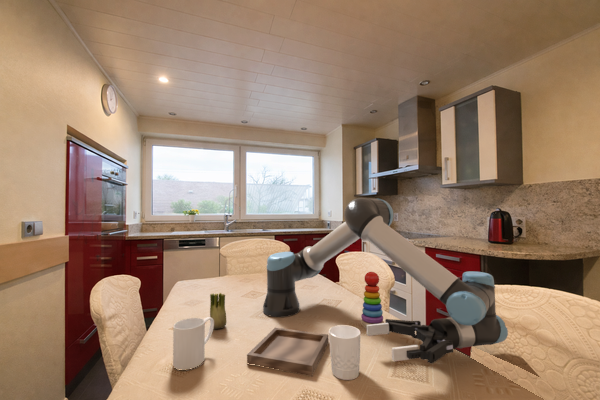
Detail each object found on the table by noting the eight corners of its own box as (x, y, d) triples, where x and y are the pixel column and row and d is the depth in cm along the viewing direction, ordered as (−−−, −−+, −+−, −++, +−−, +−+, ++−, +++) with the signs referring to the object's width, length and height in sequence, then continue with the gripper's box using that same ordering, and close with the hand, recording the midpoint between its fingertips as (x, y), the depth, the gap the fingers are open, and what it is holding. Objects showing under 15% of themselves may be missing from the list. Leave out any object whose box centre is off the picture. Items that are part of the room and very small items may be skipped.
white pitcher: (185, 374, 67) (186, 331, 68) (166, 366, 71) (167, 325, 72) (222, 352, 77) (222, 315, 78) (203, 346, 81) (203, 311, 82)
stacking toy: (385, 331, 90) (383, 274, 91) (361, 329, 91) (359, 274, 93) (383, 322, 98) (381, 270, 99) (360, 320, 99) (359, 269, 100)
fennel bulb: (208, 327, 95) (208, 293, 96) (220, 323, 99) (220, 290, 100) (216, 332, 92) (216, 296, 92) (229, 327, 95) (229, 293, 96)
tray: (247, 364, 71) (247, 354, 71) (275, 335, 88) (274, 327, 88) (312, 376, 65) (311, 365, 66) (328, 342, 82) (328, 334, 83)
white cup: (327, 364, 70) (326, 325, 71) (356, 362, 71) (355, 324, 72) (333, 383, 63) (332, 339, 63) (366, 380, 63) (364, 337, 64)
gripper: (492, 373, 61) (407, 386, 57) (421, 328, 85) (359, 335, 81) (490, 339, 61) (406, 349, 57) (420, 304, 86) (358, 309, 82)
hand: (378, 341), depth 69 cm, fingers open, 13 cm apart
